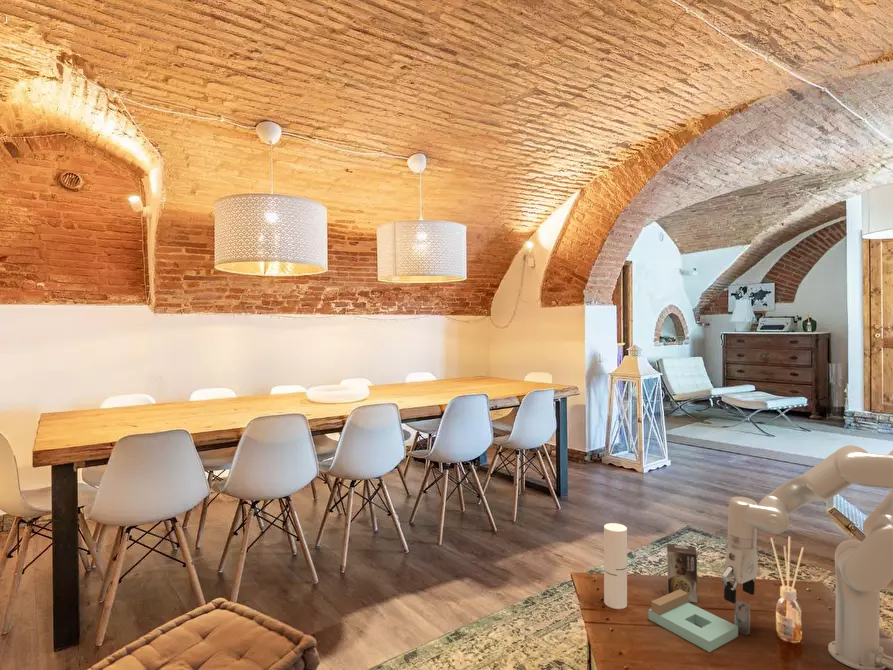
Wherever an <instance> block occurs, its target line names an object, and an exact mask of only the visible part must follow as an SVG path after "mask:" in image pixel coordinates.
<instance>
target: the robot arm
mask: <svg viewBox="0 0 893 670" xmlns="http://www.w3.org/2000/svg"><path fill="white" fill-rule="evenodd" d="M852 485H858V486H863V487H869V488H870V487H872V488H882V489H890V490H889V492H888V493H887V494H886V496H885V497H884V499H883V500H882V501H881V502H880V503H879V504H878V506H876V508H874V509H873V511H872V512H871V513H870V514H869V515H868V516H867V517H866V518H865V519H864V521H863V523H862V532H863V534H864V536H865V538H864V539H863V540H858V539H846V540H843V541H842V542H840V543H839V544H838V545H837V547H836V549H835V550H834V551H835V552H834V568H835V569H834V570H835V618H834V619H835V628H834V630H835V633H834V639H835V640H832V641H830V642H829V643H828V645H827V648H828V649H827V650H828V652H829V655H831V656H832V658H834V659H835V660H836V661H838V662H840V663H841V664H843V665H846V667H850V668H853V669H855V670H883V669H885V668H886V669H887V668H888V669H890V670H893V657H892V656H890V655H888V654H886V653H884V646H881V645H880V606H881V605H880V604H881V603H880V602H881V593H880V592H881V590H882V589H884V588H886V586H887V585H889V584H890V582H892V580H893V449H892V450H891V451H890V452H889V453H888V454H878V453H871V452H870V453H869V452H868V451H867V450H866V449H864V448H862V447H861V446H857V445H851V444H850V445H845V446H842V447H840V448H838V449H837V450H835V451H834V452H832V453H831V454H830V455H828V456H827V457H826V458H824V459H822V460H821V461H820V462H819V463H817V464H816V465H814V466H812V467H811V468H810V469H808V470H807V471H805V472H804V473H802V474H801V475H798V476H796V477H795V478H792V479H791V480H789V481H787V482H785V483H783V484H781V485H779V486H778V487H777V488H775V489H774V490H772V491H771V492H770V493H768V494H767V495H766V496H764V497H763V498H762V499H761V500H760V502H759V503H757V502H756V501H755V500H753V499H752V498H750V497H749V498H748V497H745V496H733V497H731V498H729V501H728V515H727V516H728V517H727V520H728V521H727V536H726V537H727V540H726V541H727V547H726V548H727V549H726V555H725V563H724V572H723V573H722V574H721V580H722V584H723V589H724V591H723V598H724V600H725V601H728V602H730V603H731V604H734V605H735V603H736V601H737V600H736V599H737V590H736V587H737V585H738V584H742V591H743V592H745V593H748V594H749V595H751V596H754V595H755V585H756V584H755V582H756V578H757V577H758V570H759V563H758V562H759V559H758V549H757V534H758V529H759V530H762V531H765V532H768V533H773V534H781V533H782V534H783V533H784V532H785V531H787V530H788V528H789V526H790V519H789V515H791V514H792V513H793V512H795V511H796V510H798V509H799V508H801V507H803V506H805V505H807V504H809V503H813V502H826V501H829V500H831V499H832V498H834V497H836V496H837V495H838V494H839V493H841V492H844V491H845V490H846V489H847V488H849V487H850V486H852ZM886 669H885V670H886Z"/></svg>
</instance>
